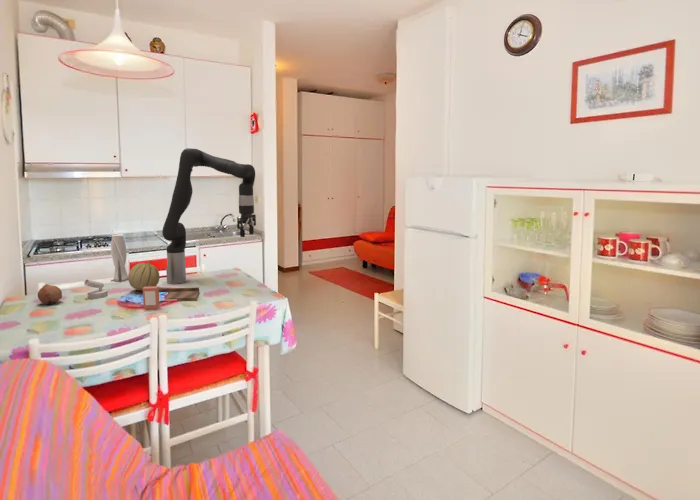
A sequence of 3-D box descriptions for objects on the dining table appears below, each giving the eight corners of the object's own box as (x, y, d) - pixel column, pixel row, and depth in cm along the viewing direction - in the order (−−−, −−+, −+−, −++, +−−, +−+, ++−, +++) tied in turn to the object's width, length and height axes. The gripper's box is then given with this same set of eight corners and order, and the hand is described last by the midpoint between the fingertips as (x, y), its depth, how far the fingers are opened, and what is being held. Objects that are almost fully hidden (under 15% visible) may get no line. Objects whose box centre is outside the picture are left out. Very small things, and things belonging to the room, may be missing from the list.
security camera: (79, 278, 215) (98, 274, 224) (81, 297, 217) (100, 292, 226) (91, 281, 212) (110, 276, 221) (92, 300, 214) (111, 295, 222)
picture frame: (143, 310, 201) (142, 288, 199) (145, 307, 204) (144, 286, 202) (158, 309, 202) (156, 288, 201) (159, 307, 206) (158, 286, 204)
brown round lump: (45, 308, 210) (39, 288, 210) (67, 301, 213) (61, 281, 213) (38, 307, 201) (31, 286, 201) (60, 299, 204) (54, 279, 204)
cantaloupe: (122, 292, 227) (120, 263, 225) (145, 285, 241) (143, 258, 238) (144, 296, 222) (142, 266, 219) (166, 288, 235) (165, 261, 233)
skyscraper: (109, 280, 249) (104, 231, 244) (121, 277, 256) (117, 229, 251) (120, 282, 246) (116, 232, 241) (132, 279, 253) (128, 230, 248)
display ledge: (152, 302, 212) (151, 296, 212) (157, 294, 225) (157, 288, 224) (196, 300, 216) (195, 294, 216) (199, 293, 229) (199, 287, 228)
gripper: (247, 202, 234) (248, 233, 238) (232, 204, 221) (233, 237, 224) (259, 203, 232) (260, 234, 235) (245, 205, 219) (246, 238, 222)
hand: (247, 235), depth 230 cm, fingers open, 8 cm apart
